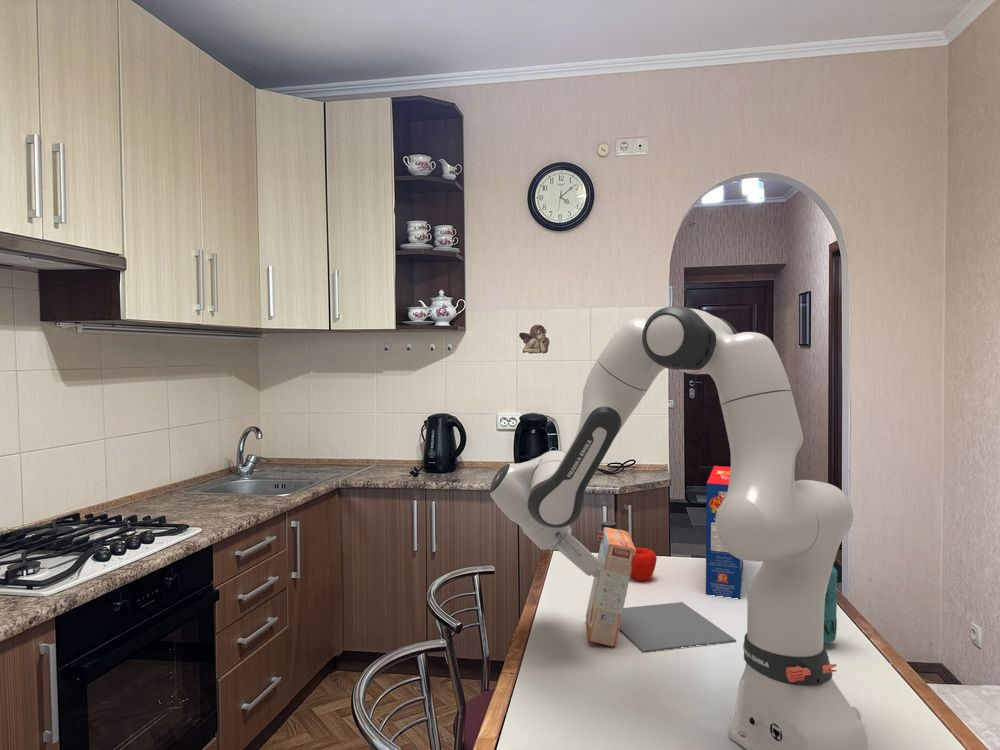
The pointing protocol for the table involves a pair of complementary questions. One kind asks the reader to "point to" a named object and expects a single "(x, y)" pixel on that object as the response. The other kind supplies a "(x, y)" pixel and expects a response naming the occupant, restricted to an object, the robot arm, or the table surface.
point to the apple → (643, 564)
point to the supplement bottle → (600, 533)
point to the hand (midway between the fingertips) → (592, 570)
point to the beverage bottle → (830, 608)
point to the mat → (669, 627)
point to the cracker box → (610, 587)
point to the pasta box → (719, 562)
